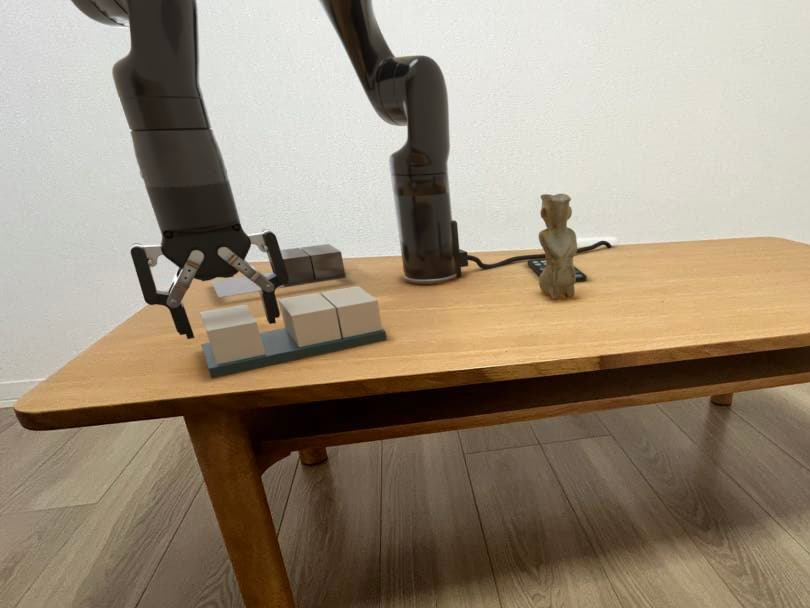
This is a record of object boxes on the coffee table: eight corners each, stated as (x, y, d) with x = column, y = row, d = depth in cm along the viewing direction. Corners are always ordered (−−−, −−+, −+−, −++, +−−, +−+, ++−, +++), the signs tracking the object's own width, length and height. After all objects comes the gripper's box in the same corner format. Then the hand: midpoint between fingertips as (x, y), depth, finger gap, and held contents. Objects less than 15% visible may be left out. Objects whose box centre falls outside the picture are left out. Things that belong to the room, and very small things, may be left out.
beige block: (254, 334, 68) (246, 304, 66) (265, 354, 62) (256, 321, 60) (210, 343, 66) (199, 311, 64) (217, 364, 60) (206, 330, 58)
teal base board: (365, 321, 76) (358, 284, 73) (387, 339, 69) (380, 300, 67) (204, 353, 66) (190, 312, 64) (211, 378, 59) (196, 334, 57)
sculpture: (567, 287, 89) (568, 190, 82) (582, 299, 83) (585, 196, 76) (534, 290, 88) (532, 192, 81) (546, 303, 82) (545, 198, 74)
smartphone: (546, 280, 90) (525, 260, 103) (546, 284, 91) (526, 263, 103) (588, 276, 92) (562, 257, 105) (588, 280, 92) (562, 260, 105)
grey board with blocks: (331, 270, 102) (325, 242, 100) (350, 284, 93) (344, 253, 91) (212, 287, 92) (203, 257, 90) (220, 305, 84) (210, 271, 81)
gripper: (100, 188, 49) (162, 353, 57) (268, 177, 56) (303, 325, 63) (103, 181, 54) (160, 332, 62) (256, 172, 61) (290, 309, 69)
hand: (232, 329), depth 63 cm, fingers open, 8 cm apart
